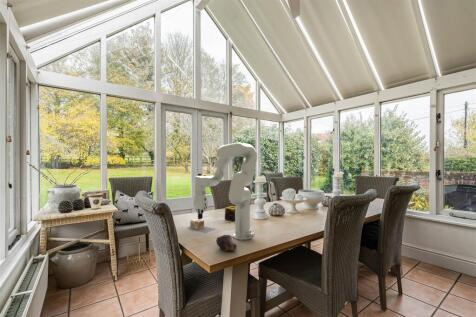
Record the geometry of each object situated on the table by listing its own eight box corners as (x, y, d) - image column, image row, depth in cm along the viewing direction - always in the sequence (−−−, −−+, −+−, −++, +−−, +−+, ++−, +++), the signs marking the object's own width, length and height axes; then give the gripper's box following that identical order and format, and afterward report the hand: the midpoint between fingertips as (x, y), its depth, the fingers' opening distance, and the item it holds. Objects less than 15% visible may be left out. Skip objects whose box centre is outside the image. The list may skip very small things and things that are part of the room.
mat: (215, 229, 158) (215, 228, 158) (206, 233, 150) (206, 232, 150) (196, 224, 169) (196, 224, 169) (186, 228, 161) (186, 227, 161)
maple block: (204, 220, 161) (195, 218, 167) (199, 222, 157) (190, 220, 162) (204, 227, 161) (195, 225, 166) (199, 229, 157) (190, 227, 162)
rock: (228, 247, 130) (212, 250, 124) (228, 231, 131) (212, 234, 126) (239, 251, 120) (222, 254, 115) (238, 234, 121) (221, 237, 116)
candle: (233, 221, 178) (233, 209, 178) (224, 219, 185) (224, 207, 185) (241, 219, 187) (241, 207, 187) (232, 217, 193) (232, 205, 193)
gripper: (211, 193, 159) (211, 219, 159) (196, 191, 168) (196, 216, 168) (204, 194, 153) (204, 221, 153) (189, 192, 161) (189, 218, 161)
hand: (200, 218), depth 160 cm, fingers closed
